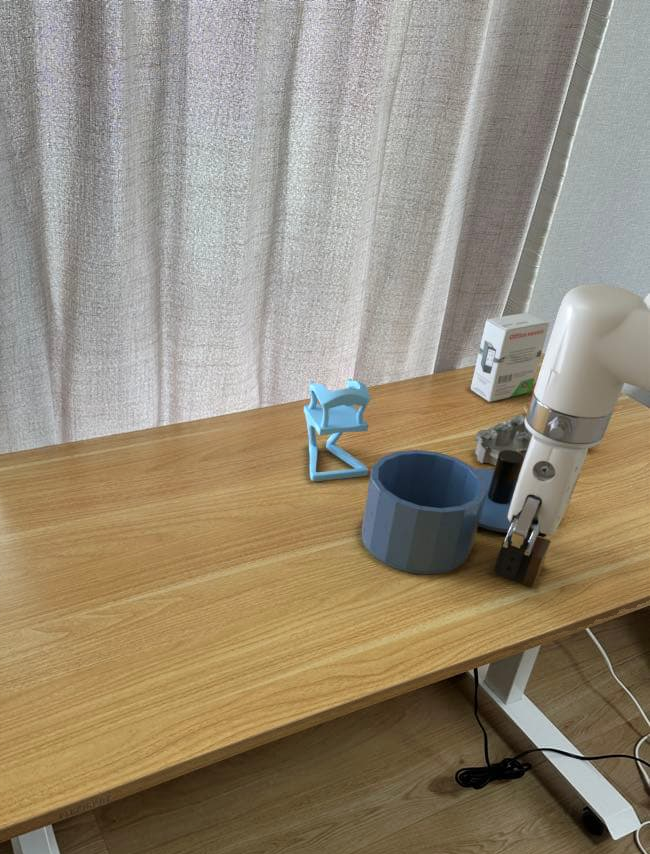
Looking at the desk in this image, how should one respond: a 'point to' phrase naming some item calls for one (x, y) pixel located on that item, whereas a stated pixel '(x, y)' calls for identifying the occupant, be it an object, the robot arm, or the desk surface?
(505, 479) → the tin lid
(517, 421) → the egg carton
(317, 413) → the chair
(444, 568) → the tin
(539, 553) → the block
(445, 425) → the desk surface
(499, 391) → the ink box
